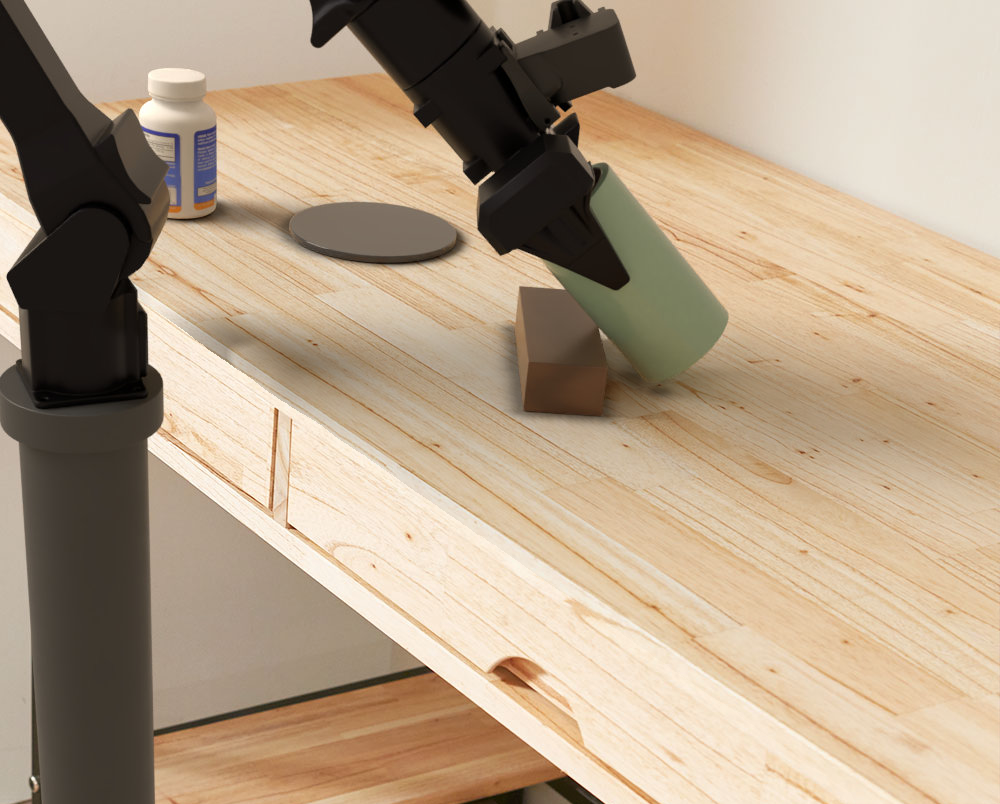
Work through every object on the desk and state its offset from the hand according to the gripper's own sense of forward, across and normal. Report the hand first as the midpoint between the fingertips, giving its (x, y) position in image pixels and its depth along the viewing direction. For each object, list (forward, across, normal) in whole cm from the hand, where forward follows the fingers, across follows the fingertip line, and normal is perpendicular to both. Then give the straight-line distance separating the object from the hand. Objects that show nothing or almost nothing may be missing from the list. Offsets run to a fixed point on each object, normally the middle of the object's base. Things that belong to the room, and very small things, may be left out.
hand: (617, 264), depth 89 cm
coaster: (-6, +22, +15) cm, 28 cm away
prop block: (+3, 0, +7) cm, 7 cm away
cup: (+5, 0, +4) cm, 7 cm away
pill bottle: (-15, +25, +26) cm, 39 cm away
